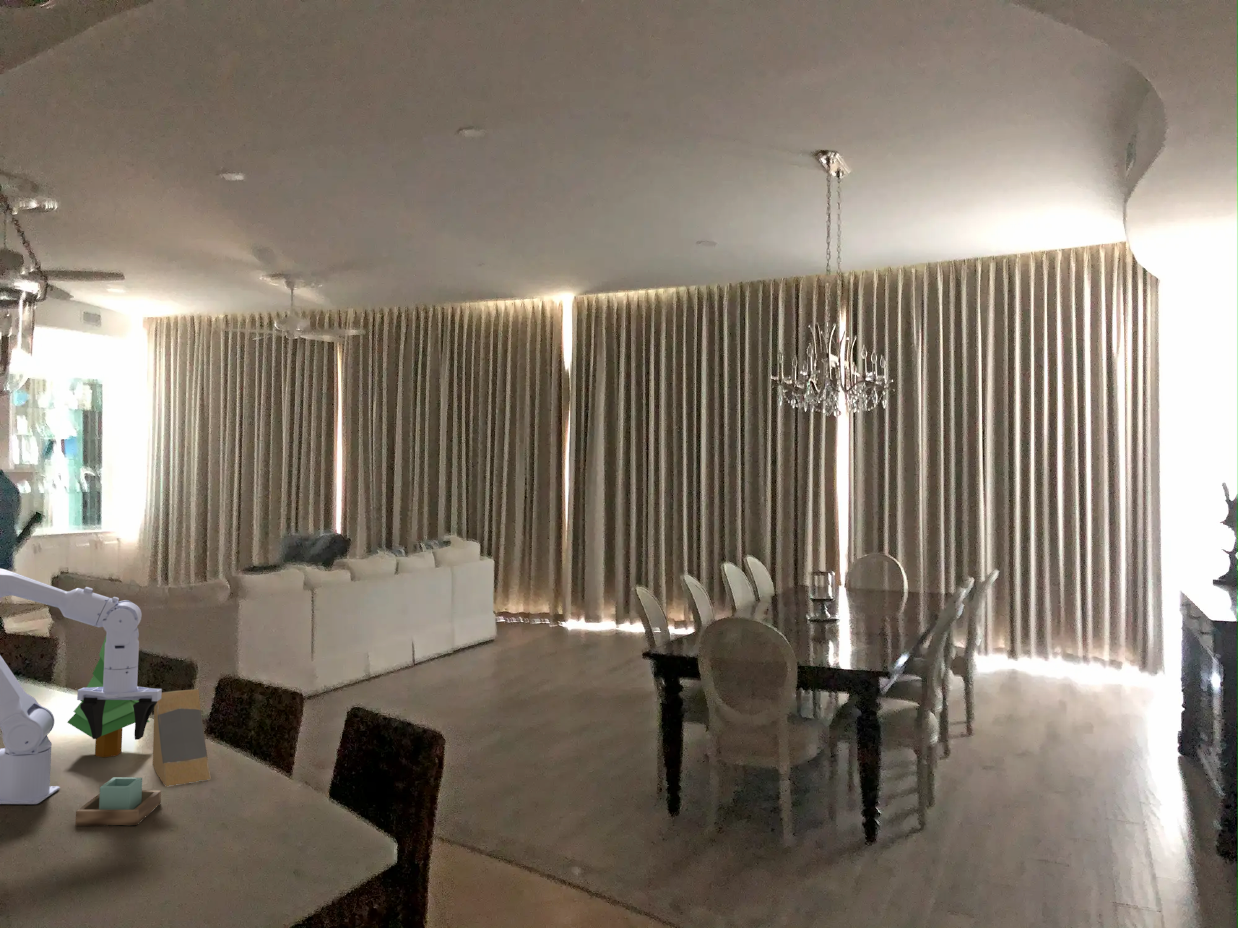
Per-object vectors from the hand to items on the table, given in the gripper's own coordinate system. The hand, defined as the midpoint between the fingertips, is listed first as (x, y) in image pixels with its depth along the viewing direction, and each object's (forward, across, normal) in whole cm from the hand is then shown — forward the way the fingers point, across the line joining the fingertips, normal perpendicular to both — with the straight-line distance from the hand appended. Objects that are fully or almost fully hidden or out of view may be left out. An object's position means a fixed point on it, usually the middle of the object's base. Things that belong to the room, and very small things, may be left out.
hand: (118, 737), depth 171 cm
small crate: (+9, +6, -12) cm, 16 cm away
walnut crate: (+10, +6, -12) cm, 17 cm away
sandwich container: (+10, +8, +10) cm, 17 cm away
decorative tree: (+10, -11, +21) cm, 26 cm away
